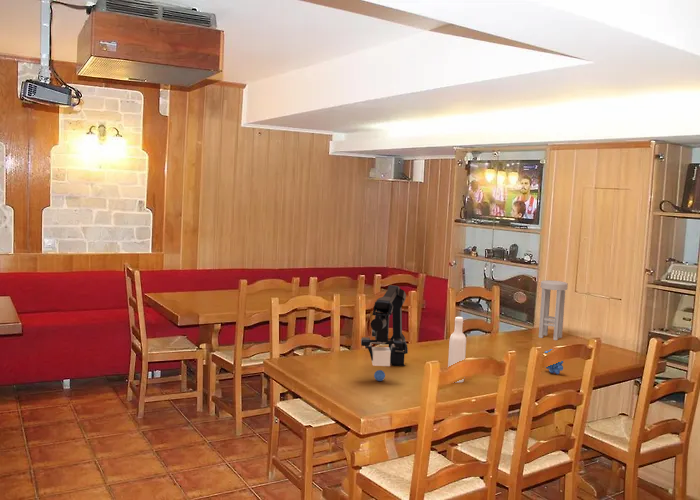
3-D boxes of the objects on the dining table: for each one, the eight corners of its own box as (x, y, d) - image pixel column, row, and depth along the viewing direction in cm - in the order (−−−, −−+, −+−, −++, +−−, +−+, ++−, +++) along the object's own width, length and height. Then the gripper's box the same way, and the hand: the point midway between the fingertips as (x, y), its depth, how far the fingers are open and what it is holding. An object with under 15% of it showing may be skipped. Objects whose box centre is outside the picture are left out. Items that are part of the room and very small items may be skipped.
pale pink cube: (388, 361, 309) (389, 347, 308) (389, 366, 301) (390, 351, 300) (371, 361, 308) (372, 346, 308) (372, 365, 301) (373, 350, 300)
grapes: (537, 371, 334) (538, 348, 333) (544, 369, 339) (546, 346, 338) (557, 377, 326) (559, 353, 325) (565, 375, 330) (566, 351, 329)
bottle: (465, 379, 315) (469, 316, 313) (462, 383, 308) (466, 319, 305) (448, 377, 318) (452, 315, 315) (445, 381, 311) (449, 317, 308)
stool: (559, 341, 407) (563, 284, 404) (534, 337, 415) (538, 281, 412) (566, 337, 420) (570, 282, 417) (541, 333, 428) (545, 279, 425)
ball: (385, 378, 303) (384, 383, 307) (385, 368, 306) (384, 373, 310) (374, 378, 303) (373, 382, 307) (374, 367, 306) (373, 372, 310)
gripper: (401, 324, 311) (399, 356, 313) (361, 322, 311) (359, 355, 312) (403, 329, 300) (401, 363, 302) (362, 327, 300) (360, 361, 301)
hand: (380, 360), depth 304 cm, fingers closed on pale pink cube, 8 cm apart
